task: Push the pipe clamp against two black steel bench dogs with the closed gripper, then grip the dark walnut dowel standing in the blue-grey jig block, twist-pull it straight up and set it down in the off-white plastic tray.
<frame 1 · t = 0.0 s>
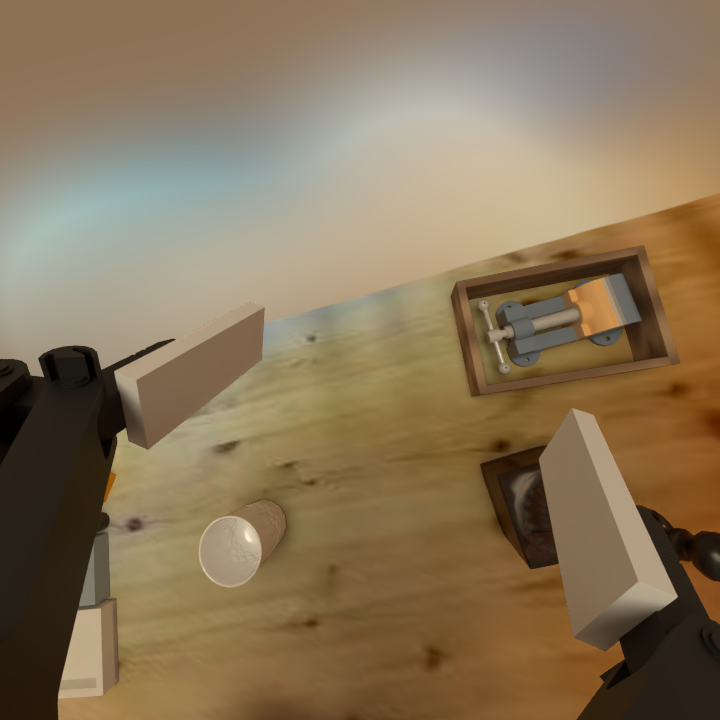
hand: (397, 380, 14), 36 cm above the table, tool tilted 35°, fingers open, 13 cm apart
bench dogs: (82, 523, 54), on the table
vise: (543, 327, 49), resting in tool caddy
coffee grinder: (548, 487, 46), on the table
white cup: (265, 522, 50), on the table
jig block: (82, 566, 53), on the table
tool caddy: (543, 330, 48), on the table
tray: (84, 641, 51), on the table
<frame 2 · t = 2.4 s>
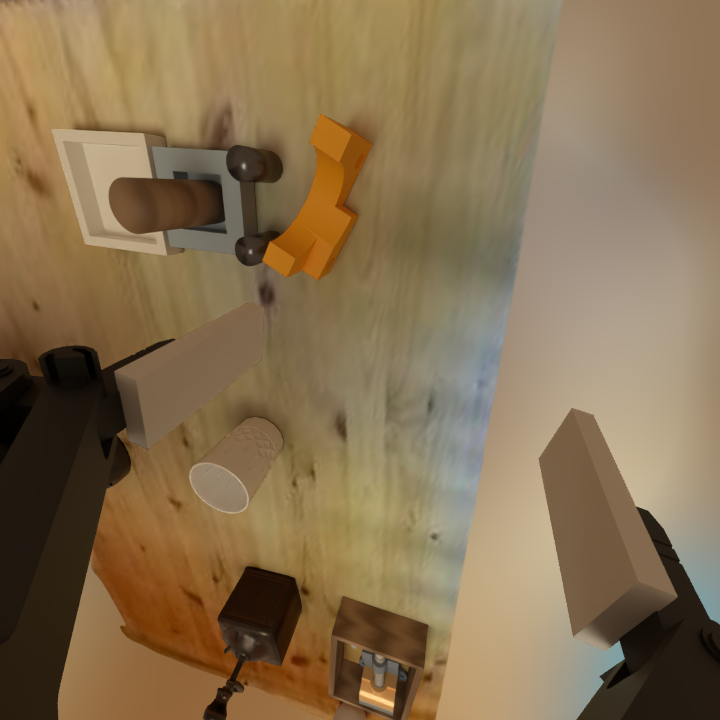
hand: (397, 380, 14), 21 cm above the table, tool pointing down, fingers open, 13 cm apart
bench dogs: (271, 207, 34), on the table
vise: (384, 645, 65), resting in tool caddy
coffee grinder: (276, 594, 67), on the table
white cup: (262, 435, 49), on the table
jig block: (216, 202, 35), on the table
teacup: (353, 706, 80), on the table
tool caddy: (378, 643, 64), on the table
pipe clamp: (338, 207, 33), on the table
tray: (132, 194, 38), on the table
dowel: (213, 202, 35), resting on jig block
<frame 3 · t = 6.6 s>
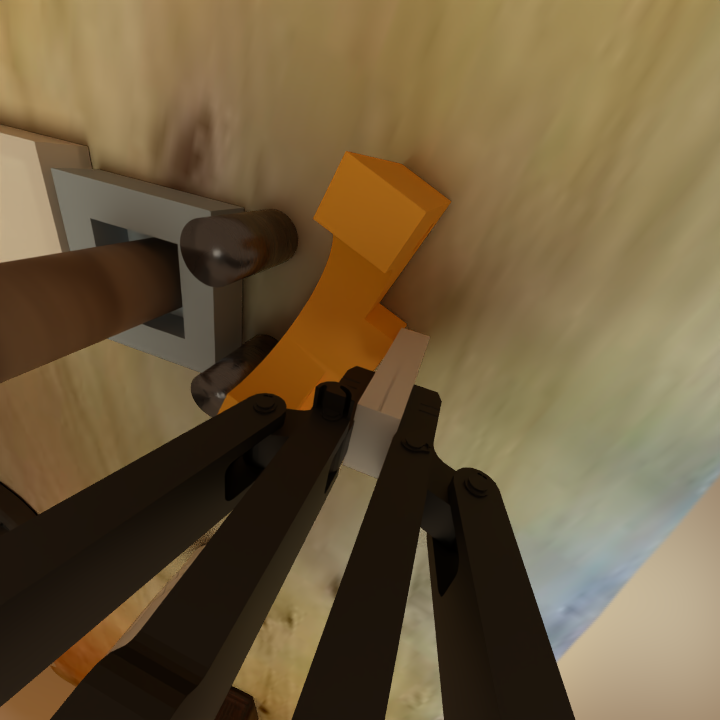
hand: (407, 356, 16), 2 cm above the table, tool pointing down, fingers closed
bench dogs: (270, 300, 19), on the table
coffee grinder: (228, 700, 55), on the table
white cup: (226, 564, 35), on the table
jig block: (175, 271, 20), on the table
pipe clamp: (369, 303, 18), on the table, touching bench dogs, gripper
tray: (37, 228, 22), on the table
dowel: (169, 273, 20), resting on jig block
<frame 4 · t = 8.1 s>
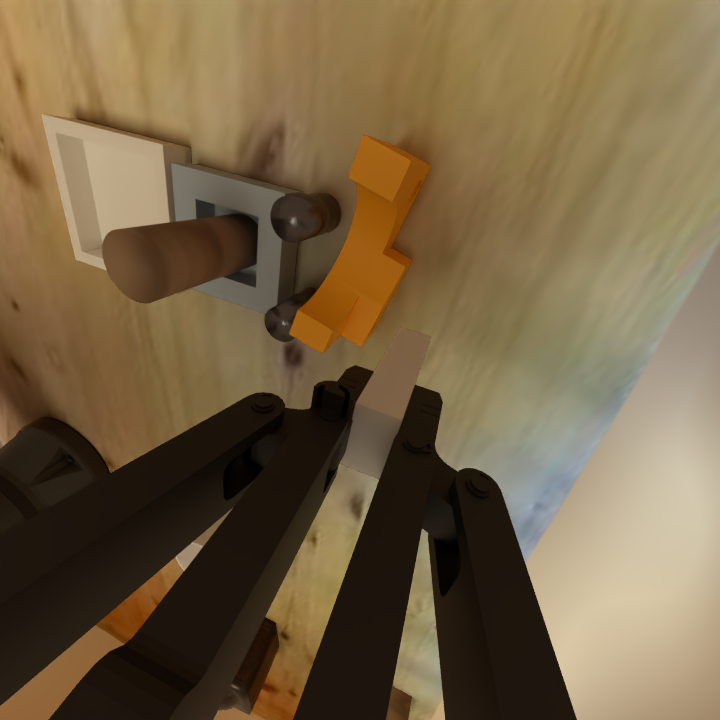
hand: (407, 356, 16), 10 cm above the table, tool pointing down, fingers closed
bench dogs: (317, 261, 26), on the table
coffee grinder: (253, 630, 63), on the table
white cup: (263, 491, 43), on the table
jig block: (246, 239, 28), on the table
tool caddy: (354, 697, 61), on the table
pipe clamp: (384, 249, 25), on the table
tray: (141, 208, 29), on the table
dowel: (243, 240, 27), resting on jig block
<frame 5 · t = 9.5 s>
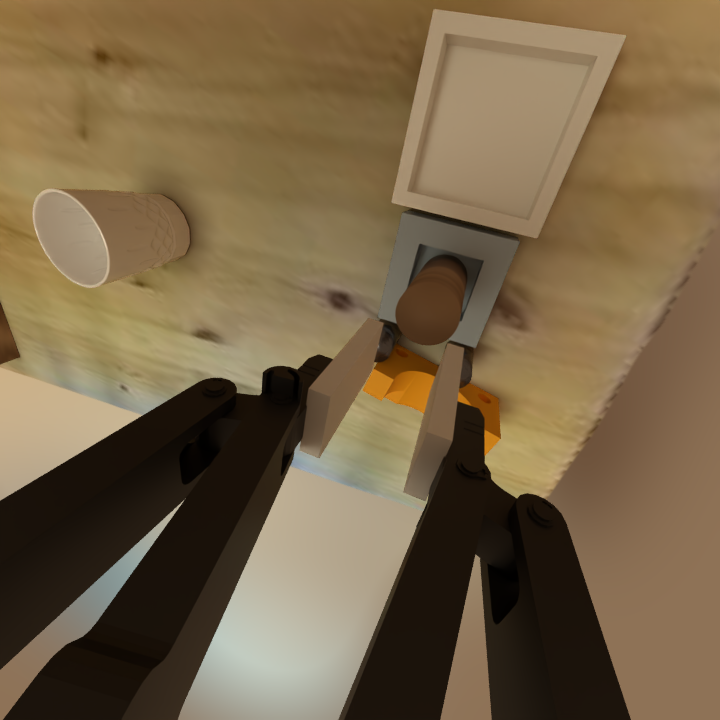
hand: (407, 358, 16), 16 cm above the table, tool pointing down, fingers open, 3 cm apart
bench dogs: (423, 339, 33), on the table
white cup: (166, 227, 37), on the table
jig block: (444, 276, 30), on the table
pipe clamp: (433, 383, 36), on the table
tray: (489, 137, 25), on the table
dowel: (443, 278, 30), resting on jig block
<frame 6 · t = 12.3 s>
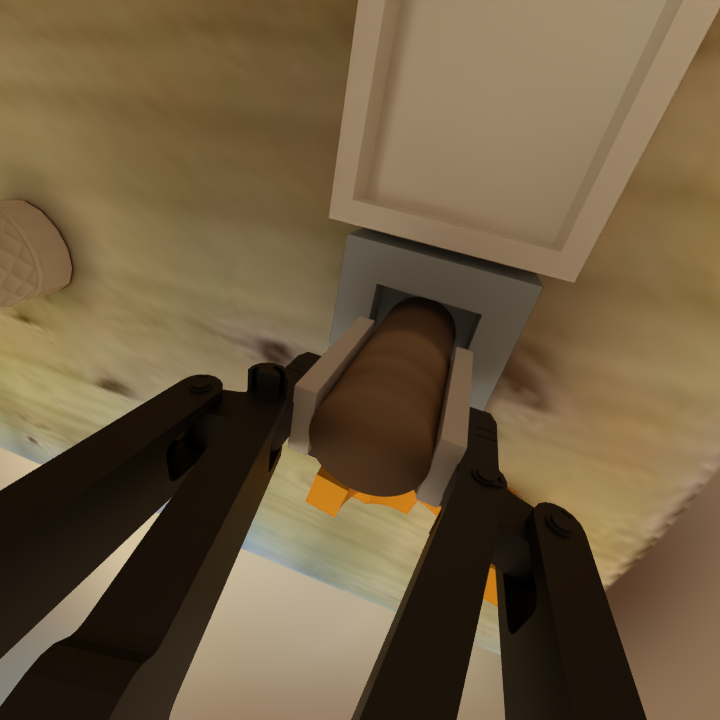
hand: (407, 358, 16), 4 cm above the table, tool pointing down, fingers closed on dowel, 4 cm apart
white cup: (41, 246, 27), on the table
jig block: (421, 328, 20), on the table
pipe clamp: (420, 465, 25), on the table
tray: (490, 107, 14), on the table
dowel: (418, 331, 19), point 1 cm above the table, touching gripper
when the fingers open (6 cm above the table, at t = 16.9 s): dowel drops 2 cm, resting on tray.
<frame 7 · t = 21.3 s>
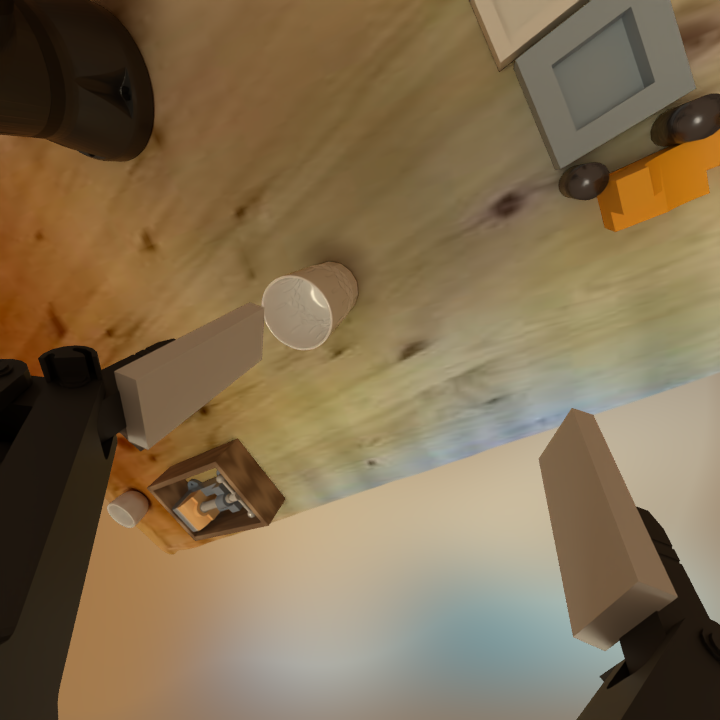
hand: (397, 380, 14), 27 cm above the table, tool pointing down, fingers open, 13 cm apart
bench dogs: (620, 156, 29), on the table
vise: (226, 487, 70), resting in tool caddy
white cup: (333, 288, 43), on the table
jig block: (593, 81, 28), on the table
teacup: (139, 498, 84), on the table
tool caddy: (224, 482, 69), on the table
pipe clamp: (681, 169, 29), on the table
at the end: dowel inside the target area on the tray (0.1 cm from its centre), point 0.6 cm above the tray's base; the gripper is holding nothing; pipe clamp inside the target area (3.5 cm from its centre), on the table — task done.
